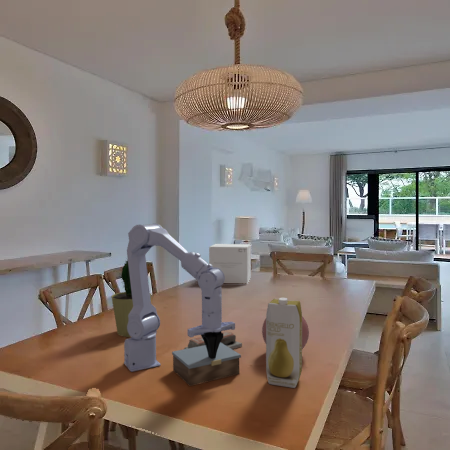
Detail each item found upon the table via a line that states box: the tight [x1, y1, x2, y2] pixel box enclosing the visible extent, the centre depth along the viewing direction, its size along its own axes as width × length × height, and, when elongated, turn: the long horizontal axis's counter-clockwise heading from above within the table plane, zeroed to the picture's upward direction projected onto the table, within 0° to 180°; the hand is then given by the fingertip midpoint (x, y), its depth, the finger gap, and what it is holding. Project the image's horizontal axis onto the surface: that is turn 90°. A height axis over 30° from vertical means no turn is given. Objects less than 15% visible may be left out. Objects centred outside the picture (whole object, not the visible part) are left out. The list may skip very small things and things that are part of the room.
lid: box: [171, 342, 242, 369], centre depth 117 cm, size 17×13×1 cm
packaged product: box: [184, 331, 243, 350], centre depth 138 cm, size 18×5×10 cm
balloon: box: [261, 315, 310, 350], centre depth 130 cm, size 15×20×15 cm
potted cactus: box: [111, 257, 152, 338], centre depth 156 cm, size 15×15×30 cm
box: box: [172, 355, 240, 387], centre depth 118 cm, size 16×12×5 cm
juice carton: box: [265, 297, 303, 389], centre depth 111 cm, size 9×8×24 cm
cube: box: [208, 243, 252, 285], centre depth 266 cm, size 25×21×24 cm
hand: (212, 357), depth 114 cm, fingers closed
